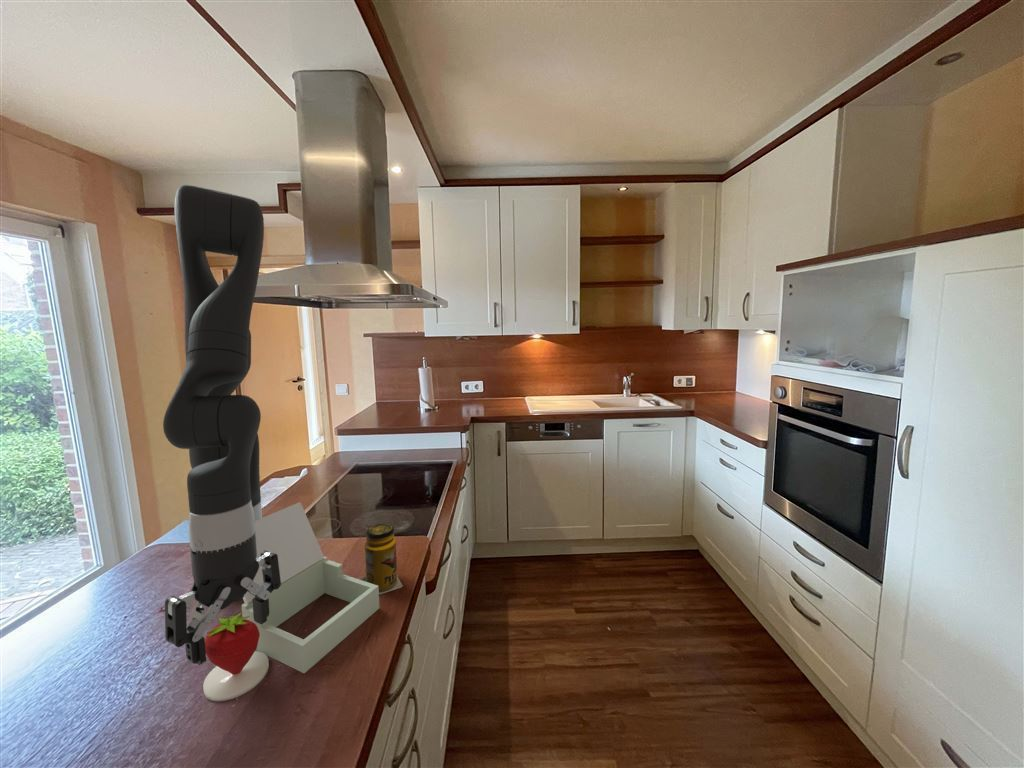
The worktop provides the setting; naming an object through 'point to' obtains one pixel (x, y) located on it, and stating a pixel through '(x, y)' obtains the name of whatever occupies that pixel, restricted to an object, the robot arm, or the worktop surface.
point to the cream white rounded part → (236, 679)
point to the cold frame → (304, 591)
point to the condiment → (381, 558)
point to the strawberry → (232, 643)
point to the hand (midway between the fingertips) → (231, 640)
